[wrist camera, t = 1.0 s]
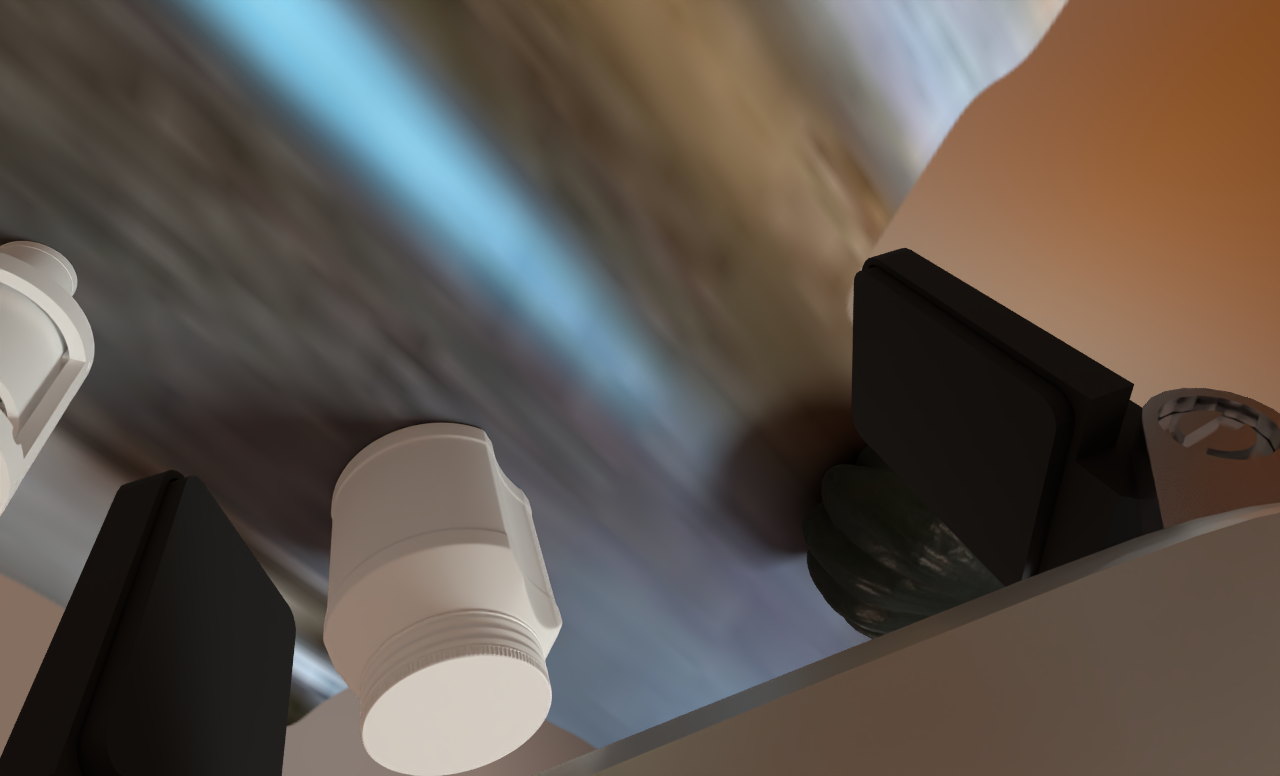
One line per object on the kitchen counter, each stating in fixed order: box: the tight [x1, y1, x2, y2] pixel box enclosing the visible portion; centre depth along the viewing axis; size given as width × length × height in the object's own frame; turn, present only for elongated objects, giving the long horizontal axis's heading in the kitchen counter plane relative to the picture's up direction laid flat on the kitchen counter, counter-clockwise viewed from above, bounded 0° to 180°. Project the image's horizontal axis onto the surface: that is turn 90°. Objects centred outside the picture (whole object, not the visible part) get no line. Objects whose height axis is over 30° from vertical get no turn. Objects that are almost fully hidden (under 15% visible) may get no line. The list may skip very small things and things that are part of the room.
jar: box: [323, 423, 562, 776], centre depth 38 cm, size 12×10×15 cm
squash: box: [803, 445, 1006, 639], centre depth 51 cm, size 14×15×15 cm
